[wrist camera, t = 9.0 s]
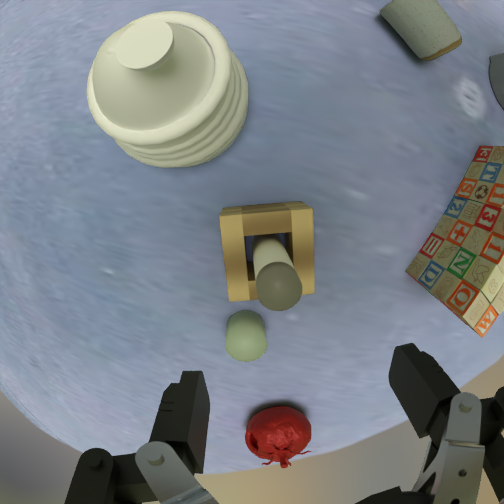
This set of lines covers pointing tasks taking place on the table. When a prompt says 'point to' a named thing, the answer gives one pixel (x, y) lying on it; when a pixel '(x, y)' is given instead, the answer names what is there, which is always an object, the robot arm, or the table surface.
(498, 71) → the robot arm
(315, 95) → the table surface
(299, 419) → the pomegranate
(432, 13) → the ceramic mug
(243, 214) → the bead block
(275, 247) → the cream capped cylinder
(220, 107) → the honey pot
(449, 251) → the stack of blocks
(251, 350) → the bead
